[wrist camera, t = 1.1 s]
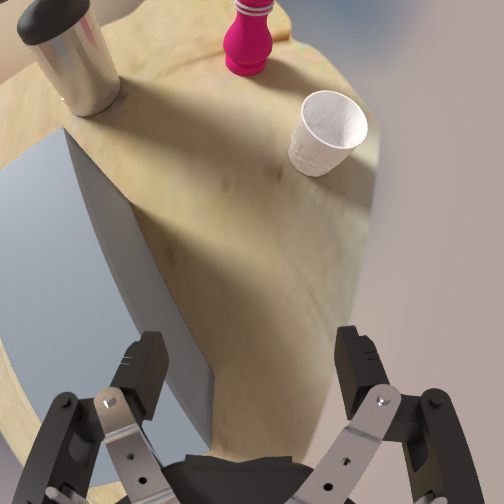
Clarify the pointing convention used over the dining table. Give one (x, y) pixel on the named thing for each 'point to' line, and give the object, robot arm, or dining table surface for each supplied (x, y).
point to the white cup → (326, 132)
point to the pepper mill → (249, 37)
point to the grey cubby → (90, 297)
